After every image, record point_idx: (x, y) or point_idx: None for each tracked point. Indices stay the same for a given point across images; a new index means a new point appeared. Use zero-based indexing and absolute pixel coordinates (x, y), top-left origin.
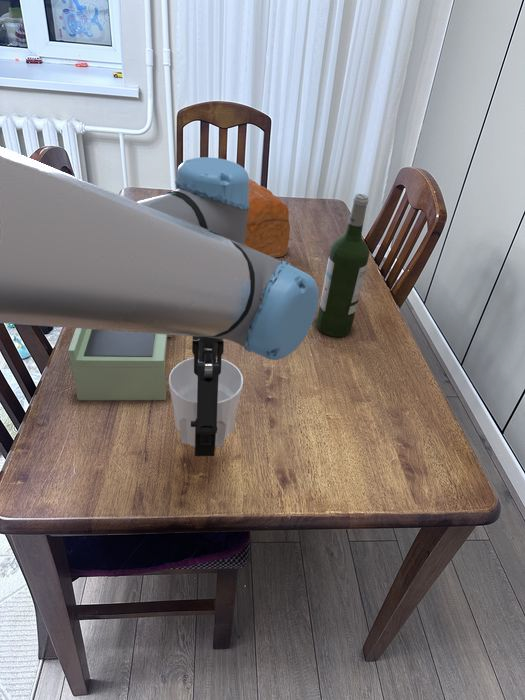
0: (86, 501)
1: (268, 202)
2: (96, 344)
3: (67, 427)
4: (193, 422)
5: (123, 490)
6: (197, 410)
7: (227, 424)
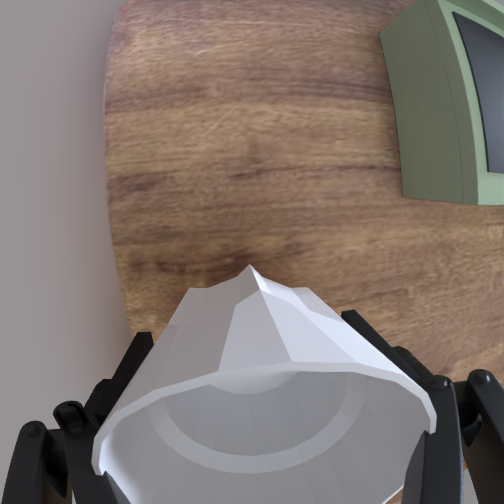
0: (133, 92)
1: None
2: (488, 42)
3: (309, 21)
4: (69, 419)
5: (156, 148)
6: (5, 488)
7: (218, 423)
